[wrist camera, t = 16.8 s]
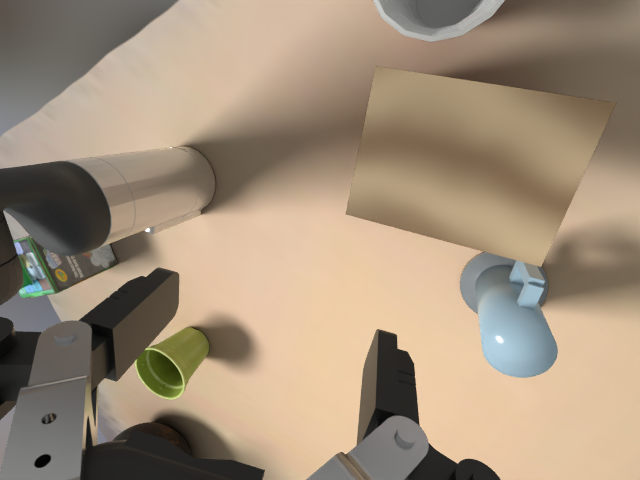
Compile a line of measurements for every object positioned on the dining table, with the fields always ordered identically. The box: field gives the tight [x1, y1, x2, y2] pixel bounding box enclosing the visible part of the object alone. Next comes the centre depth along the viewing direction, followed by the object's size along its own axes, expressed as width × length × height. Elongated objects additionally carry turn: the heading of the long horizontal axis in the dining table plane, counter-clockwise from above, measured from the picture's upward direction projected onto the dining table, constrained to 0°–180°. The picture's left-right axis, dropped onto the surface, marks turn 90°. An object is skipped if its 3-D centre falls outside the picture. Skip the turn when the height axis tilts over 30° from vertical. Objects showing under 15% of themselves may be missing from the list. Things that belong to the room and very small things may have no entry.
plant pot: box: [135, 327, 209, 399], centre depth 58 cm, size 9×9×9 cm
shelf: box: [346, 66, 616, 267], centre depth 31 cm, size 11×14×15 cm
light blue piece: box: [475, 260, 558, 377], centre depth 35 cm, size 8×6×12 cm
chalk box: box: [13, 235, 118, 298], centre depth 56 cm, size 9×9×15 cm
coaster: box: [460, 252, 548, 314], centre depth 41 cm, size 9×9×1 cm
